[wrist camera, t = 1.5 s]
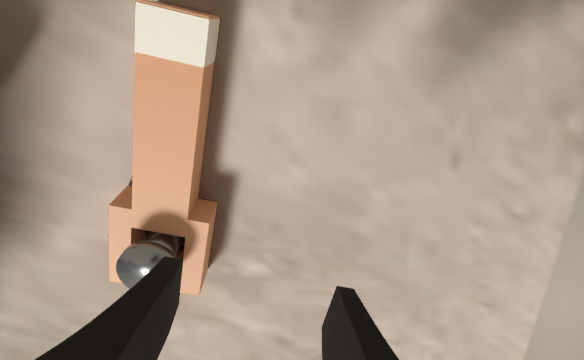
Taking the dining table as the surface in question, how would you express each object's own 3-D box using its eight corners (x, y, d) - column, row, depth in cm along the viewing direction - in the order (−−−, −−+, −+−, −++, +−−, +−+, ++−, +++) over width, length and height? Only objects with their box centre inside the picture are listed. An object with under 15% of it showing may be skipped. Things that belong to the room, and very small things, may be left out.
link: (207, 269, 23) (198, 296, 21) (126, 255, 23) (108, 281, 21) (244, 22, 17) (237, 23, 14) (131, -5, 16) (106, -8, 14)
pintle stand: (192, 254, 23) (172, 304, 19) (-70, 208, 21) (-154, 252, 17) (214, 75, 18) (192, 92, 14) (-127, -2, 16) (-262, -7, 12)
